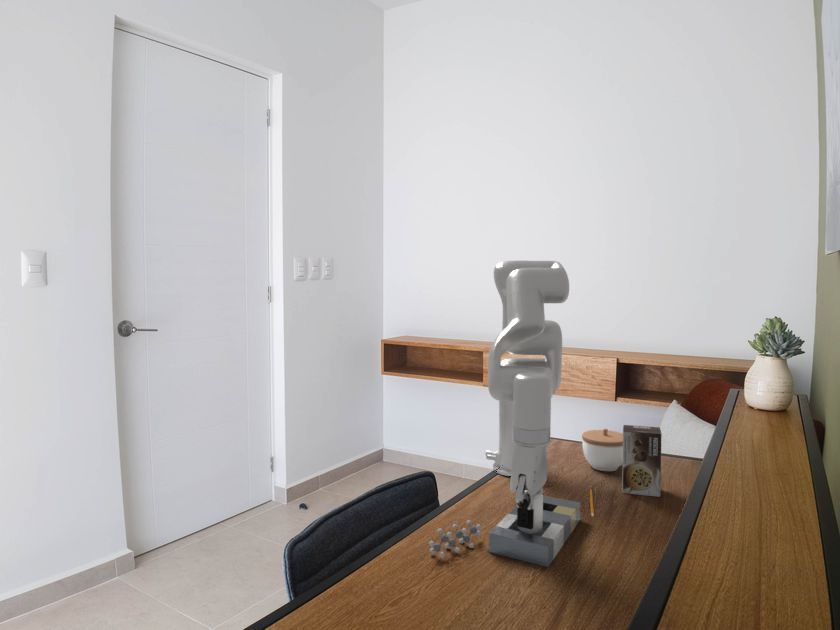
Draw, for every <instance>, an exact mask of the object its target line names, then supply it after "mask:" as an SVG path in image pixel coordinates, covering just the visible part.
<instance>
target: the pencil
mask: <svg viewBox="0 0 840 630" xmlns="http://www.w3.org/2000/svg"><path fill="white" fill-rule="evenodd" d="M588 489H589V501H590V503H589V504H590V515H591V517H592V518H594V517H595V509H594V506H595V505H594V496H593V495H594V494H593V487H592V486H591V485H590V486H589V487H588Z"/></svg>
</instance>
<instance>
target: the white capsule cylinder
mask: <svg viewBox="0 0 840 630" xmlns="http://www.w3.org/2000/svg"><path fill="white" fill-rule="evenodd" d="M525 492H526V493H529V490H525ZM543 495H544V493H543V494H542V493H540V492H537V493H536V494H534V495H533V502H532V509H534V520H533V529H527V528H522V527H518V529H519V530H520V531H522V532H524V533H529V534H536V533H540V532H541V531H542V530H543ZM524 499H527V501H528V499H529V497H527V496H524Z"/></svg>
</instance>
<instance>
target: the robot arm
mask: <svg viewBox="0 0 840 630" xmlns="http://www.w3.org/2000/svg"><path fill="white" fill-rule="evenodd" d="M568 276H569V275H568V273H567V271H566V269H565V267H564V266H563V264H561V263H560V262H559V261H557V260H507V261H505V260H504V261H501V262H499V263H497V264H496V265H495V266H494V269H493V279H494V283H495V287H496V290H497V291H498V294H499V297H500V299H501V304H502V331H501V332H500V333H499V334H498V335H497V336H496V338H495V339H494V341H493V343H492V344H491V346H490V349H489V353H488V357H487V386H488V387H487V388H488V392H489V395H490V396H491V398H493V399H494V400H496V401H498V406H499V407H498V411H499V412H498V450H497V451H493V450H486V451H485V458H486V460H491V461H494V463H493V465H492V470H493V471H494V472H495V473H496V474H499V475H502V476H506V477H509V476H511V477H510V482H509V490H510V492H511V493H512V494H513V493H515V496H514V501H516V505H517V526H518V527H522V528H527V529H533V520H534V509H532V502H533V495H534V494H536V493H537V492H540V493H542V494H543V495H544V491H543V490H544V489H543V488H544V486H545V484H546V482H547V480H548V478H547V477H548V446H549V445H550V444H551V419H552V418H551V416H552V411H551V410H552V398H553V396H554V395H555V394H556V392H557V391H558V390H559V388H560V386H561V381H562V364H563V363H562V362H563V361H562V359H563V358H562V356H563V333H562V332H563V331H562V329H561V326H560V324H559V323H558V322H556V321H553V320H548V319H546V318H545V317H546V316H545V304H564V303H565V302H566V301H567V300H568V297H569V294H570V280H569V277H568ZM505 353H508V354H510V355H519V356H520V355H521V356H542V357H544V358H541V357H539V358H537V357H534V358H532V357H510V358H508V357H507V358H504V359H502V356H503V355H504V354H505ZM502 465H503V466H502ZM499 467H500V468H499ZM498 468H499V469H498ZM496 469H498V470H496ZM495 470H496V471H497V472H496V471H495ZM525 490H529V493H526V492H525ZM524 496H527V497H529V499H528V501H527V499H524Z"/></svg>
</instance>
